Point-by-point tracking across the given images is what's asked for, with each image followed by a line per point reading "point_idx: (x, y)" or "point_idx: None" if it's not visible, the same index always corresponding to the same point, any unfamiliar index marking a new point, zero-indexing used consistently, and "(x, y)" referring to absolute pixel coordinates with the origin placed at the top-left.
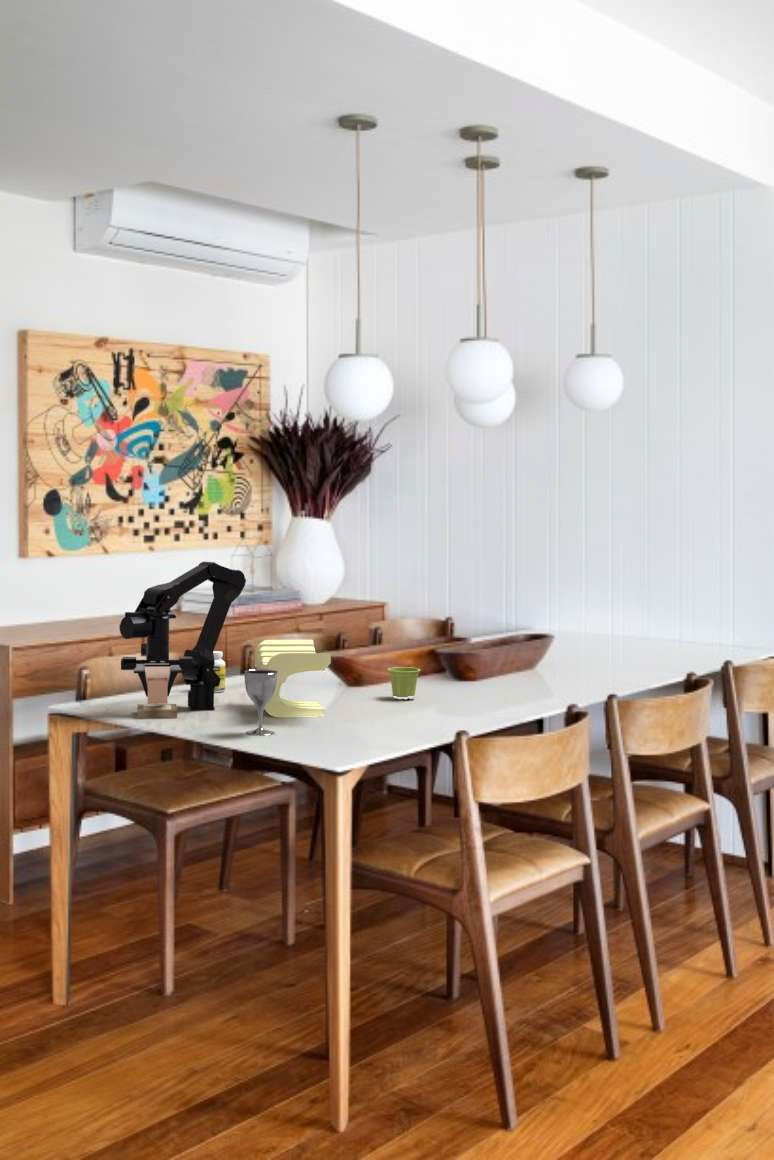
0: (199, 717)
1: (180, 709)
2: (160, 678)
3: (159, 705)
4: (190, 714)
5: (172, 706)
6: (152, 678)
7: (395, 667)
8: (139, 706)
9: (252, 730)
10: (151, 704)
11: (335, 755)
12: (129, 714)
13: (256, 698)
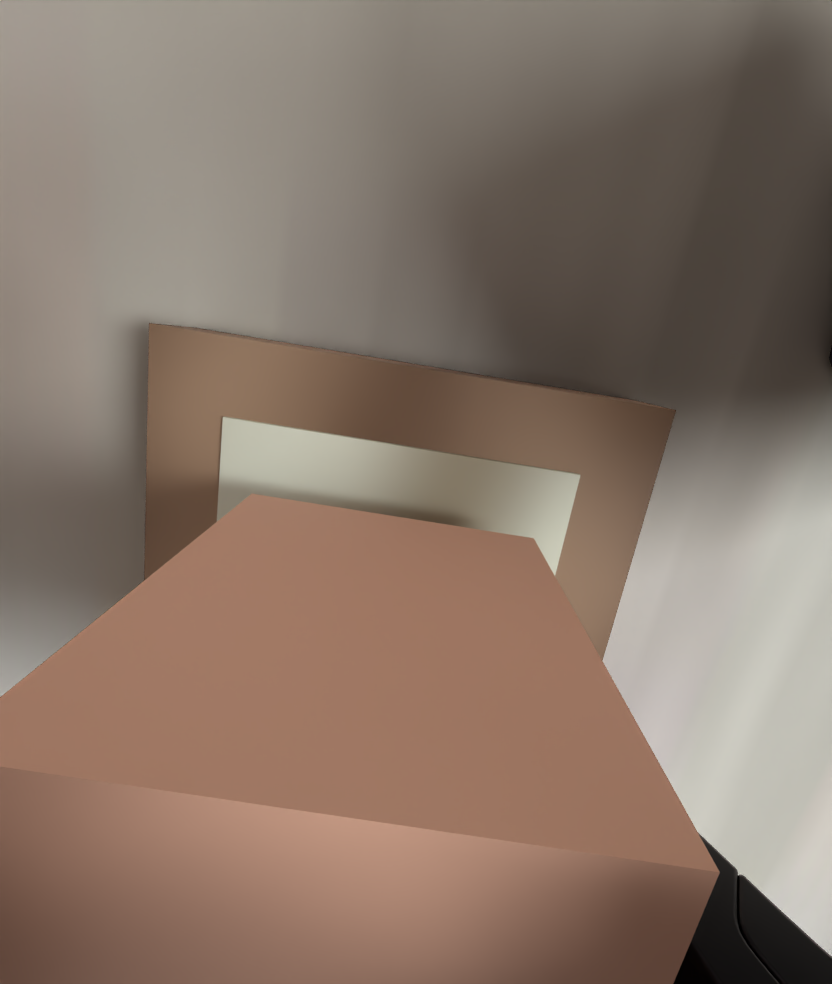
0: (744, 767)
1: (739, 245)
2: (422, 959)
3: (425, 513)
4: (724, 603)
5: (572, 589)
6: (126, 907)
7: None
8: (170, 501)
9: None
10: (340, 373)
11: None
12: (107, 466)
13: None
